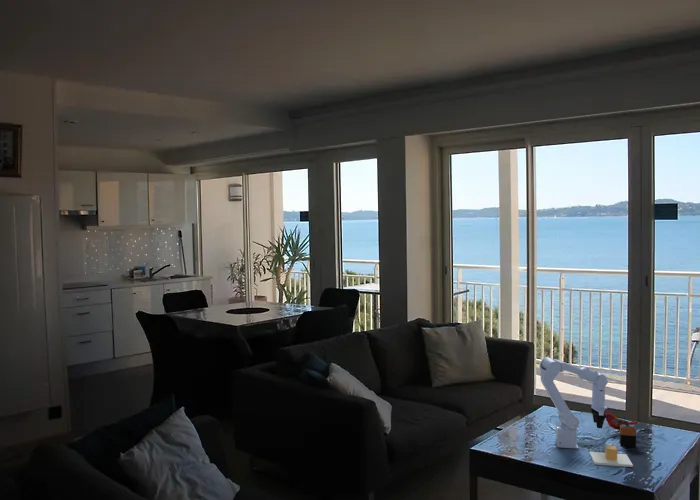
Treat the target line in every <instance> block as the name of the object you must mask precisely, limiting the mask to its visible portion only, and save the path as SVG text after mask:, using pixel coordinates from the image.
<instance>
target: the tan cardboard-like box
mask: <svg viewBox="0 0 700 500" xmlns="http://www.w3.org/2000/svg"><path fill="white" fill-rule="evenodd" d="M604 453H605V457H606V459H607V460H617V454H618V448H617V447H616V445H606V444H605V445H604Z"/></svg>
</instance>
